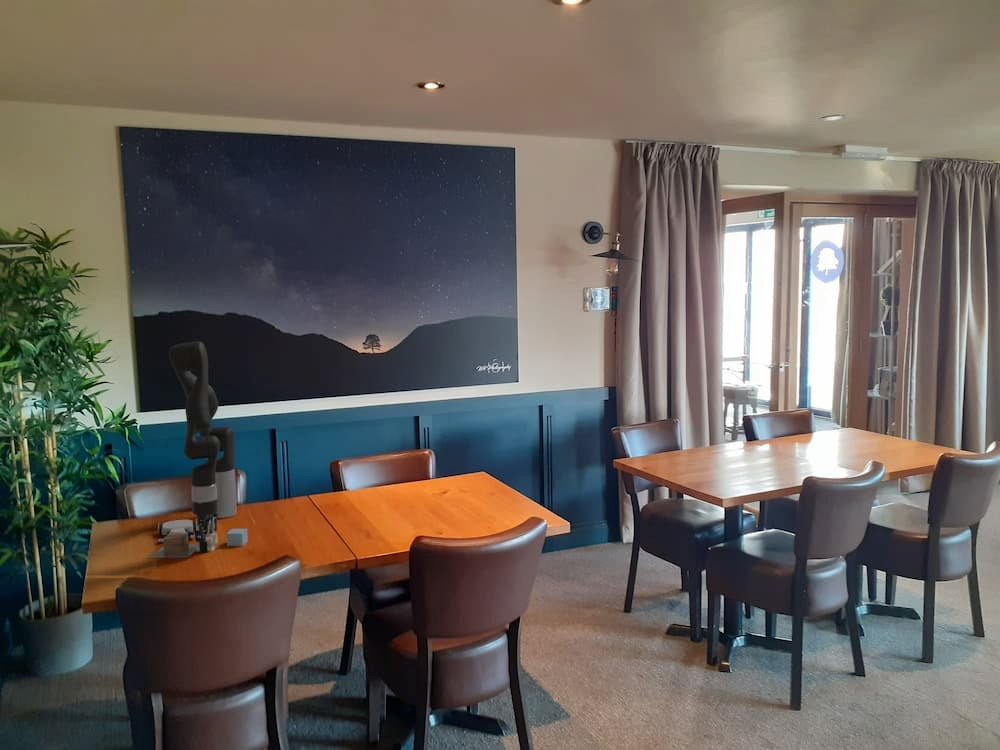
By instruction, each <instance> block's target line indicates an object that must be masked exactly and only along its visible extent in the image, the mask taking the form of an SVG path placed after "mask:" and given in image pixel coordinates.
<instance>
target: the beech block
mask: <svg viewBox="0 0 1000 750" xmlns="http://www.w3.org/2000/svg"><path fill="white" fill-rule="evenodd" d="M204 536H205V534H204ZM195 544H196V551H195V552H200V545H199V542H196V541H195ZM218 546H219V541H218V533H217V532H215V533H209V534H208V535H207V550H208V551H207V552H213V551H214V550H215V549H216V548H217V547H218Z"/></svg>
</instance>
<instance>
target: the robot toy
mask: <svg viewBox="0 0 1000 750" xmlns="http://www.w3.org/2000/svg"><path fill="white" fill-rule="evenodd" d="M197 520H198V518H195V521H193V520H191V519H177V520H176V519H175V520H169V521H166V522H162V525H160V523H158V527H157V531H158V533H160V534H161V535H160V538H159V539H158V543H160V542H161V543H163V538H165V537H166V536H167V535H169V534H170V533H188V540H189V539H190V540H191V539H195V534H194V528H193V526H194V525H197Z"/></svg>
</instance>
